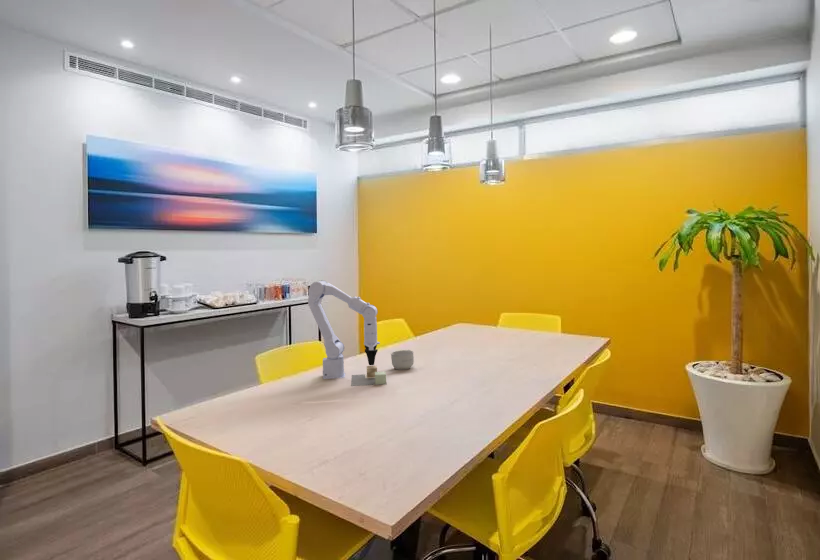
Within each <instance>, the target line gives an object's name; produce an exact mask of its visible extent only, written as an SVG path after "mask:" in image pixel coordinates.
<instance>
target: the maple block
mask: <svg viewBox="0 0 820 560" xmlns="http://www.w3.org/2000/svg"><path fill="white" fill-rule="evenodd" d="M375 372H378V366H377V365H366V374H367V378H369V377H375Z"/></svg>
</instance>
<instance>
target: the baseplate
mask: <svg viewBox="0 0 820 560" xmlns="http://www.w3.org/2000/svg"><path fill="white" fill-rule="evenodd" d="M350 379H351V380H350V386H351V387H360V386H361V387H363V386H380V385H382V386H383V385H384V384H375V377H369V378H367V373H366V374H364V373H363V374H351V378H350ZM387 384H388V382H387V381H386V384H385V385H387Z"/></svg>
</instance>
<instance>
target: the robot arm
mask: <svg viewBox="0 0 820 560" xmlns="http://www.w3.org/2000/svg"><path fill="white" fill-rule="evenodd" d="M307 291H308V299H307V304H308V307H309V309H310V312H311V313H312V317H313V318H314V320H315V323H316V324H317V327H318V329H319V332H320V333H321V336H322V338H323V340H324V342H323V343H324V348H325V354H326V357H323V358H322V379H323V380H329V379H345V378H346V373H345V365H344V364H345V363H344V362H345V361H344V353H343V352H344V351H345V344H344V343H343V342H342V341H341V340H340V338H339V337H338V336H337V335H336V334H335V331H334V329H333V328H332V325H331V323H330V321H329V319H328V317H327V314H326V312H325V309H324V308H323V305H322V302H323V299H324V297H325V296H333V297H335V298H337V299H339V300H341V301H343V302H345V303H346V304H347V306H348V308H349V309H351V310H353V311H355V312H356V313H358V314H359V315H361V316H362V317H363V337H364V338H363V339H364V340H363V346H364V353H365V354H366V357H367V362H368V366H375V363H376V362H375V360H376V355H377V353H378V349H376V348H377V346H378V345H380V344H381V342H380V341H378V322H377V319H378V318H377V315H378V308H377V307H376V306H375V305H374V304H370V302H366V301H364V300H363V299H362V297H361V296H351V295H349V294H348V293H346V292H344V291H343V290H341V289H340V288H338V287H337V286H335V285H334V284H332V283H330V282H328V281H326V280H323V279H322V280H319V281H314V282H312V283H311V284H310V285H309V288H308V290H307Z"/></svg>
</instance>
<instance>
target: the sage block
mask: <svg viewBox="0 0 820 560" xmlns="http://www.w3.org/2000/svg"><path fill="white" fill-rule="evenodd" d="M386 382H387V372H386V371H377V372H375V384H383V385H387V384H386Z"/></svg>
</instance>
